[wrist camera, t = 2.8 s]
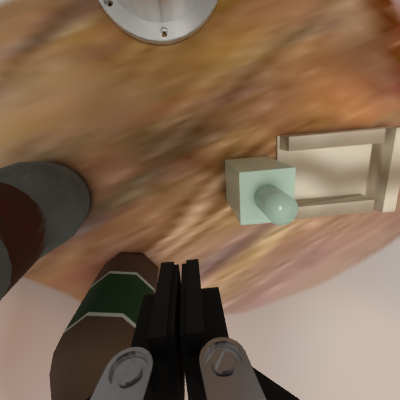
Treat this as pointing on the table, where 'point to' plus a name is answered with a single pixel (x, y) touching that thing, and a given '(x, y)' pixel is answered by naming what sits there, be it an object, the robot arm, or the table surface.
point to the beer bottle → (101, 326)
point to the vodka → (36, 214)
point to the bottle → (261, 190)
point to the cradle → (343, 170)
